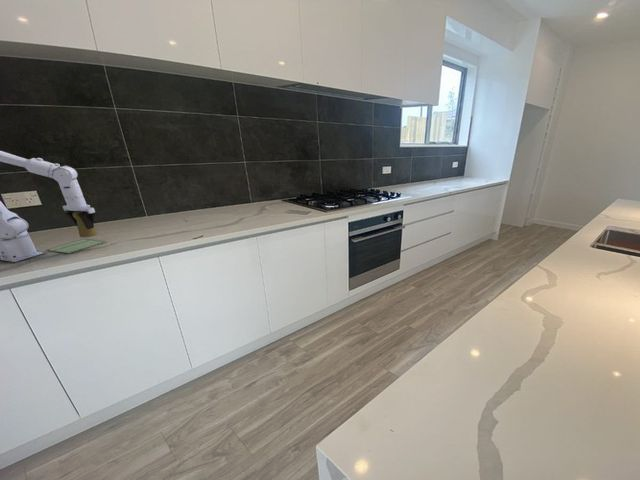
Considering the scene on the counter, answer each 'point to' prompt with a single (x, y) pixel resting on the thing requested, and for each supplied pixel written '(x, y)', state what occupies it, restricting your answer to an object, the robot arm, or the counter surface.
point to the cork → (83, 226)
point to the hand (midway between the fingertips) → (86, 227)
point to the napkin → (75, 246)
